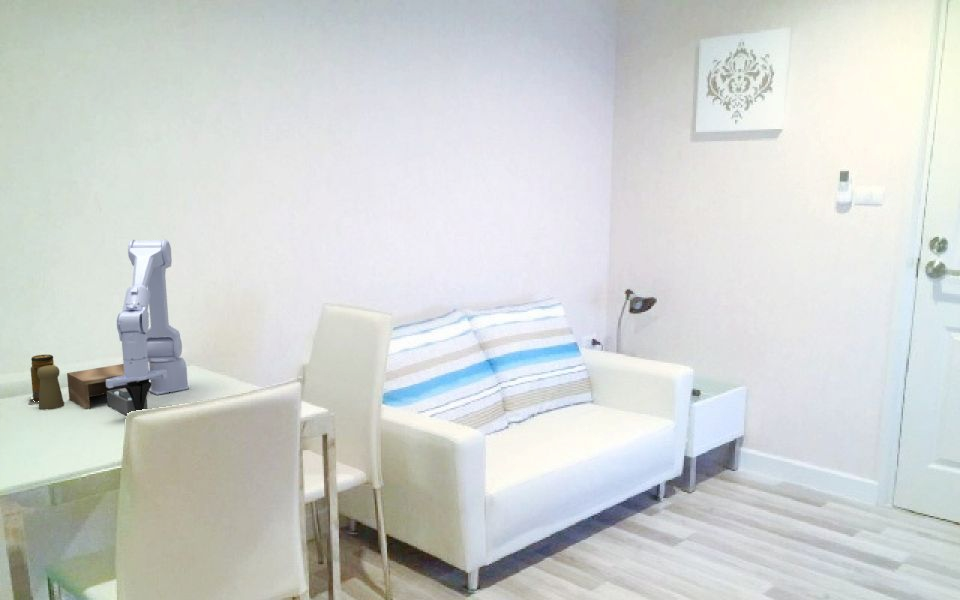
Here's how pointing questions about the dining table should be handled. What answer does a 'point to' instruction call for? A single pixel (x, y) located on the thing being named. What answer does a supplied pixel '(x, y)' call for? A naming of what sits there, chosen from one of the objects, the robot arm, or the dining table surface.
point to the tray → (121, 401)
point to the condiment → (36, 364)
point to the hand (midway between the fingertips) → (139, 410)
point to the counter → (91, 383)
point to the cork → (49, 388)
